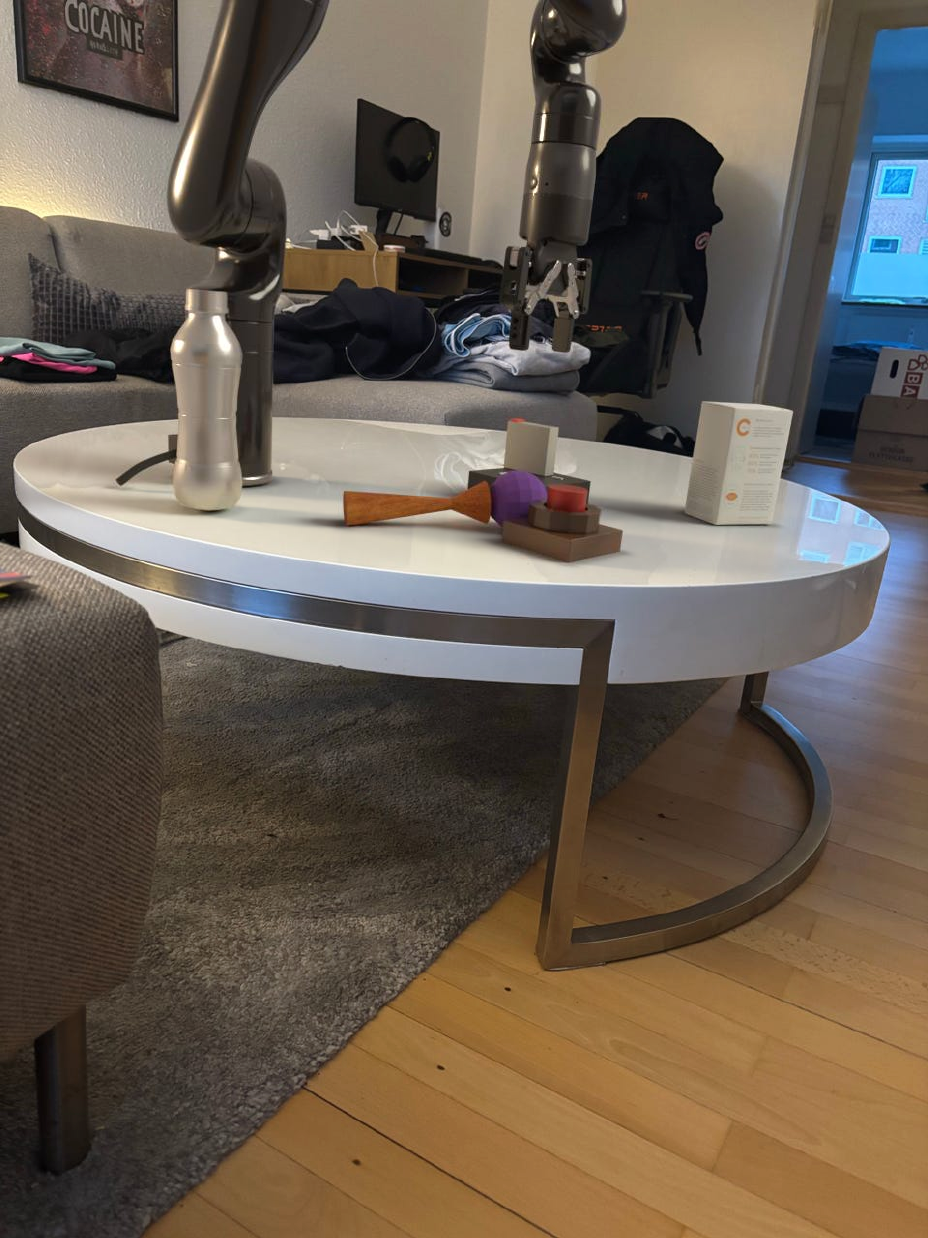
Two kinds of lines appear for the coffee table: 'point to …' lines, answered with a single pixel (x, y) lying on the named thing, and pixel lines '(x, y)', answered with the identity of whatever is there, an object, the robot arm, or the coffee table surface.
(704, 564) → the coffee table surface
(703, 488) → the small box
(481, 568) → the coffee table surface
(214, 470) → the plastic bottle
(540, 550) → the block
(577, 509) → the button
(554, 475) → the hob panel
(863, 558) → the coffee table surface
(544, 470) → the beige square slab
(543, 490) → the kendama
